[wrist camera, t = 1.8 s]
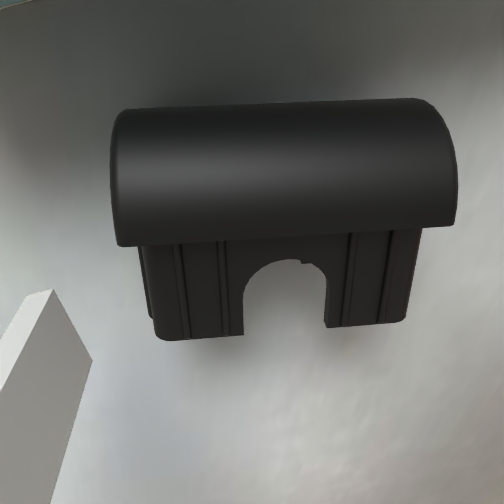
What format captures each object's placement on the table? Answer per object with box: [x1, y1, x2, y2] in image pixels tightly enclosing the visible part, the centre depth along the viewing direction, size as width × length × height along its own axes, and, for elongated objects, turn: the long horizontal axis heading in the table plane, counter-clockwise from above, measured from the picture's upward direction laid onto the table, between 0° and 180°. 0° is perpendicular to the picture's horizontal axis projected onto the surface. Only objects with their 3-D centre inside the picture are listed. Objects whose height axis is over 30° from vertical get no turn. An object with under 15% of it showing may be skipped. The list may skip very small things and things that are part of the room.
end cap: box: [110, 98, 458, 341], centre depth 16 cm, size 10×7×7 cm
